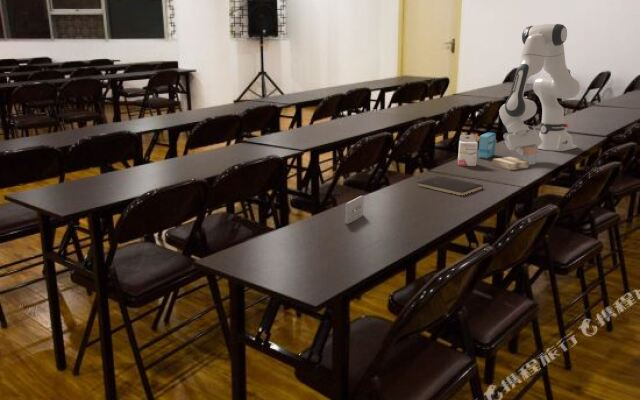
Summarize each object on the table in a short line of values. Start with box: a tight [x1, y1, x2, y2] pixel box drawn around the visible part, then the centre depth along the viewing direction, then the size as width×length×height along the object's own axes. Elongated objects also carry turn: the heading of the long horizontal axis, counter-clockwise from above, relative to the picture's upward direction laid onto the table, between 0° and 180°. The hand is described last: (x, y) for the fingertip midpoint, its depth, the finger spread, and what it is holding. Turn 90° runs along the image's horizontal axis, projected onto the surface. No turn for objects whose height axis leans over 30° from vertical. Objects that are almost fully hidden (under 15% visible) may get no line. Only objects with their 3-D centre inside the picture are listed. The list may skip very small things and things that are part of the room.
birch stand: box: [491, 156, 530, 171], centre depth 289 cm, size 12×12×3 cm
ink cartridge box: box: [457, 134, 479, 167], centre depth 291 cm, size 9×5×15 cm, turn 84°
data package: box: [478, 132, 497, 160], centre depth 308 cm, size 12×4×12 cm, turn 144°
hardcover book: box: [417, 175, 484, 197], centre depth 255 cm, size 16×23×2 cm
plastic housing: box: [522, 147, 537, 166], centre depth 293 cm, size 5×4×8 cm
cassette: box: [344, 195, 364, 225], centre depth 215 cm, size 12×2×8 cm, turn 147°
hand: (530, 154), depth 292 cm, fingers open, 8 cm apart
